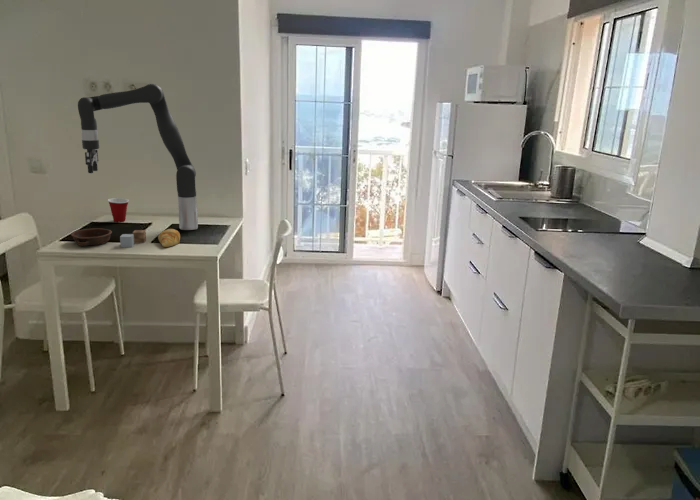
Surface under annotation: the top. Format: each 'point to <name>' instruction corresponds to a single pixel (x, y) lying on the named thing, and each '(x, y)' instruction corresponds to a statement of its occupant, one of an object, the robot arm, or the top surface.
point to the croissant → (169, 237)
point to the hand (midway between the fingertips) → (93, 172)
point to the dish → (91, 236)
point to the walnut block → (139, 236)
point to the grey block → (127, 240)
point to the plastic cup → (118, 208)
